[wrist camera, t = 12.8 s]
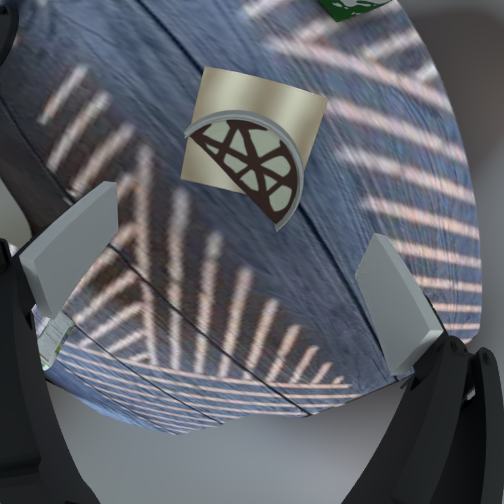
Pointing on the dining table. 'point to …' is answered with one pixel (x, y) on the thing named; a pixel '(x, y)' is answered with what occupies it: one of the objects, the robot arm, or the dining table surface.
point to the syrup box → (53, 338)
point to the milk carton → (350, 7)
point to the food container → (254, 158)
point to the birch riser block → (254, 100)
